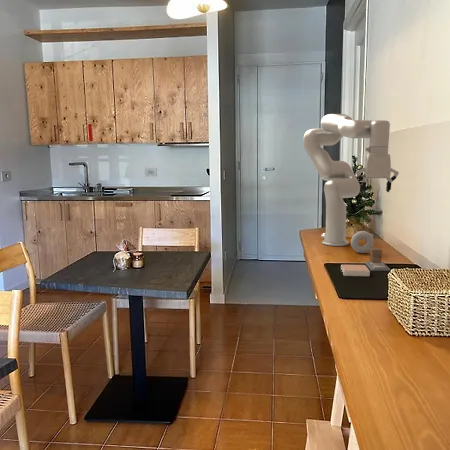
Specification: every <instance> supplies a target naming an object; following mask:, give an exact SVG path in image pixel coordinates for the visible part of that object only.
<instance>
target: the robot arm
mask: <svg viewBox="0 0 450 450" xmlns="http://www.w3.org/2000/svg"><path fill="white" fill-rule="evenodd" d="M390 125H391V123H390V121H389V120H384V119H382V120H372V119H371V120H368V119H367V120H366V119H365V120H364V119H363V120H362V119H359V120H357V119H356V120H355V119H353V118H352V117H351V116H349V115H347V114H345V113H344V114H343V113H329V114H326V115H324V116H323V117H322V118H321V120H320V126H321V128H320V127H319V128H311V129H308V130H306V132H305V133H304V135H303V147H304V149H305V152H306V154H307V156H308V157H309V158H310V159H311V161H312V163H313V165H314V167H315V169H316V170H317V173H318V175H319V177H320V178H321V180H323V181H326V182H325V183H324V186H323V192H324V197H325V232H323V233H322V234H321V235H320V237H321V238H324V239H322V244H323V245H325V246H330V247H331V246H332V247H344V246H348V245H349V244H350V242H349V240H347V239H346V238H347V236H346V235H347V232H346V231H347V206H346V202H345V201H344V199H347V198H348V199H349V198H355V197H357V196H358V195H359V194H360V190H362V192H366V191H367V180H368V179H386V180H387V182H386V187H385V188H386V189H385V190H386V192H387V193H390V191H391V190H392V183H393V182H394V181H395V180H396V179H397V177H398V175H399V171H398V170H396V169H394V168H392V164H391V163H392V162H391V154H389V144H390V143H389V141H390V129H391V128H390ZM343 137H344V138H345V137H346V138H349V139H350V138H351V139H369V145H368V147H365V152H368V153H367V155H366V159H365V163H364V164H365V165H364V167H363V168H360V169H358V170H356V171H355V173H354V171H353V169H352V167H351V165H350V164H349V163H348V162H346V161H344V160H333V159H332V158H331V156H330V154H329V152H328V151H327V150H326V149H324V148H323V147H322V146H324V147H325V146H334V145H336V144H337V143H339V142H340V140H341V139H342V138H343ZM361 173H364V176H363V177H362V175H361ZM392 173H393V175H392ZM355 174H356V175H355ZM391 175H392V176H391ZM358 179H359V180H358ZM360 181H361V185H360Z"/></svg>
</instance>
